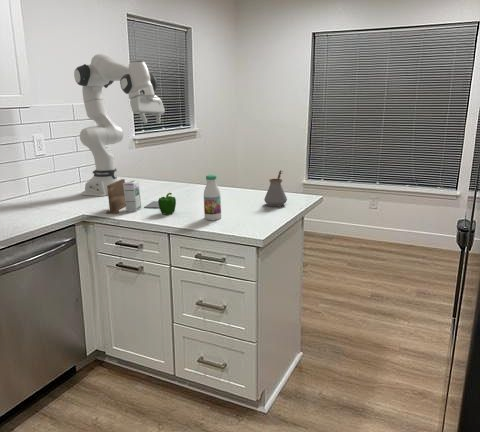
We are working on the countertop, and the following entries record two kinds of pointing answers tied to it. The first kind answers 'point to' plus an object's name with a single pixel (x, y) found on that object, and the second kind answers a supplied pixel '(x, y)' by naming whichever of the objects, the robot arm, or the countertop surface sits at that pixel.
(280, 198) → the coffee pot
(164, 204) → the bell pepper
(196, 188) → the countertop surface
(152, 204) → the coaster
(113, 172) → the robot arm
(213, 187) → the milk bottle
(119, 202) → the brown wooden display stand
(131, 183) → the syrup box
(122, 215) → the countertop surface
